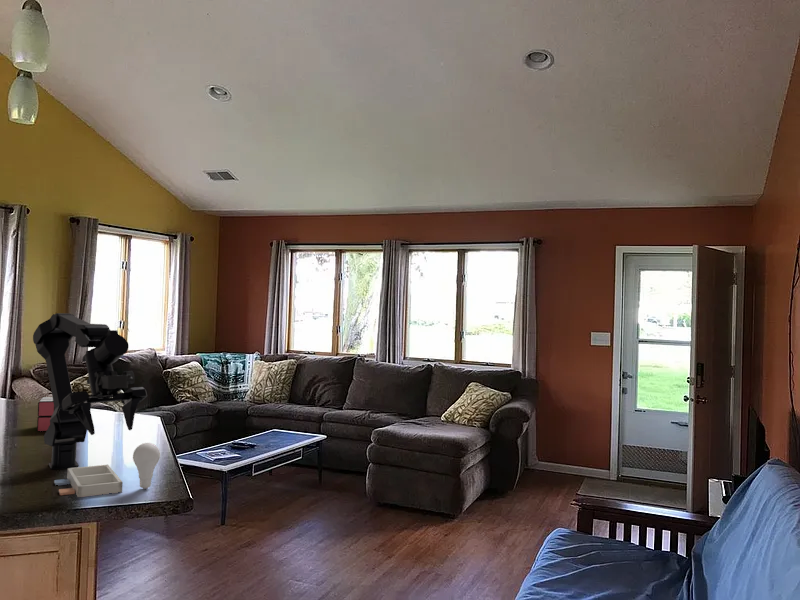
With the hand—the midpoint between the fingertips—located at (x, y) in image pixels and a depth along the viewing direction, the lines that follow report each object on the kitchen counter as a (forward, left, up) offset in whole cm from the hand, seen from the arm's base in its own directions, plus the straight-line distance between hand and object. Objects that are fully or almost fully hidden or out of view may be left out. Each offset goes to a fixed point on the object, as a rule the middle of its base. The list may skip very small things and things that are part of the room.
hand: (112, 432), depth 159 cm
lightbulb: (+5, +7, -13) cm, 16 cm away
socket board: (-3, -5, -13) cm, 14 cm away
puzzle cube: (-79, -3, -13) cm, 80 cm away
